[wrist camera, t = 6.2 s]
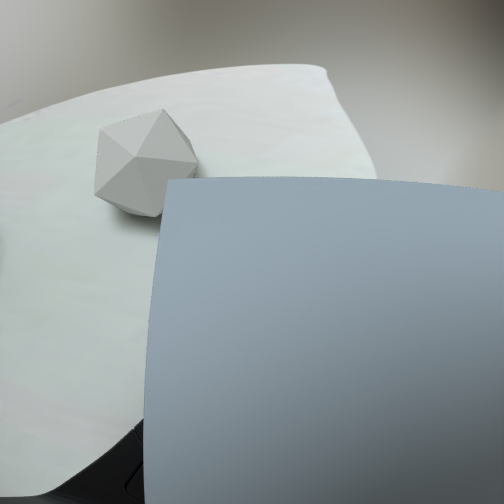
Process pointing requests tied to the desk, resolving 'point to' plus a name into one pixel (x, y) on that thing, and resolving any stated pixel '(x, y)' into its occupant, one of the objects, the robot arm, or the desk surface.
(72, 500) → the robot arm
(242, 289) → the slate block
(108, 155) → the die
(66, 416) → the desk surface
